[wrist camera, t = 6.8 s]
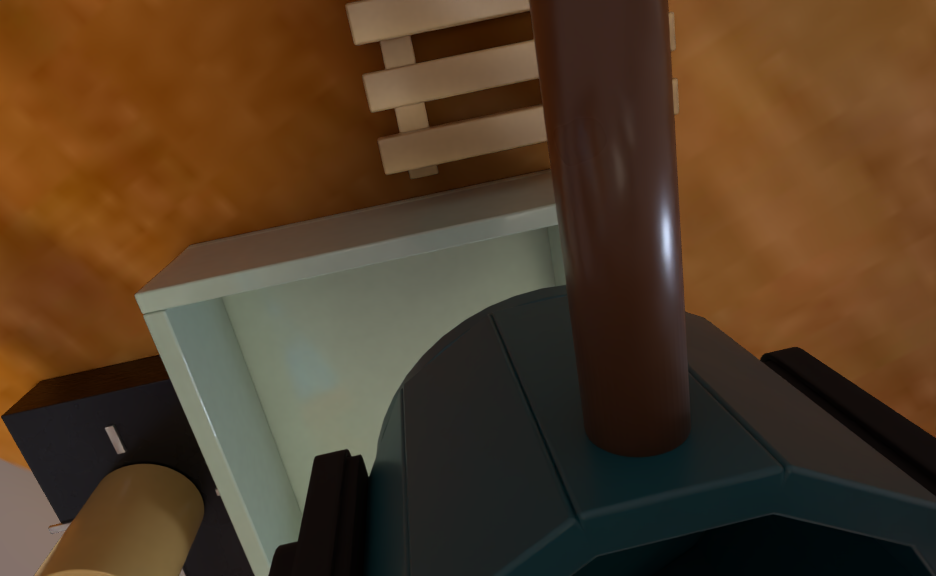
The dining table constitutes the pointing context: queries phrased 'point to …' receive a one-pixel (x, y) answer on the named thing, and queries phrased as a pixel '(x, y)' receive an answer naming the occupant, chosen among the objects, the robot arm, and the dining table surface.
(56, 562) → the tap knob
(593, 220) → the pan
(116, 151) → the dining table surface
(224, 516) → the black dial base
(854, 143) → the dining table surface
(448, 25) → the rack
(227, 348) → the pale green open box
